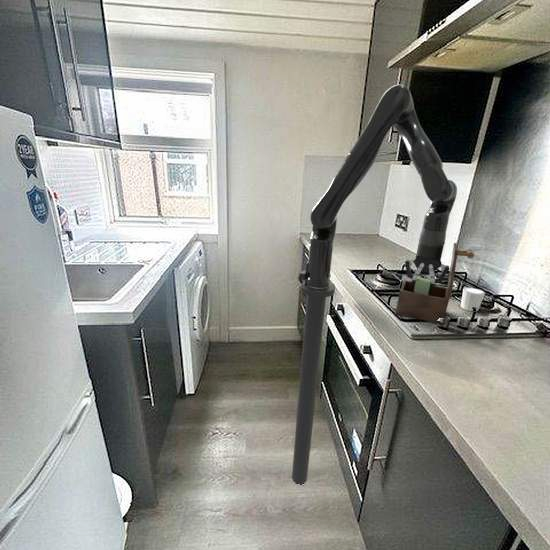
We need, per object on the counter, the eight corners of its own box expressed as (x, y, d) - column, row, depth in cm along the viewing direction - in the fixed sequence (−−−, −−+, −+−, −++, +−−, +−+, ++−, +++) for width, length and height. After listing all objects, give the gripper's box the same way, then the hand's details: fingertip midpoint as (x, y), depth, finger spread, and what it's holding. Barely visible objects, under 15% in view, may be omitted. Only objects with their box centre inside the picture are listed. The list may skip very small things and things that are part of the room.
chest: (395, 314, 104) (400, 290, 102) (400, 301, 115) (404, 280, 112) (442, 324, 98) (449, 300, 95) (443, 310, 109) (448, 288, 106)
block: (413, 292, 104) (416, 280, 102) (414, 288, 107) (417, 277, 106) (427, 295, 102) (430, 283, 100) (428, 291, 106) (430, 279, 104)
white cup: (473, 304, 115) (477, 287, 113) (484, 312, 109) (489, 294, 107) (455, 303, 116) (459, 286, 113) (465, 311, 109) (470, 293, 107)
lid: (454, 250, 91) (476, 251, 88) (453, 243, 102) (472, 244, 99) (447, 298, 95) (467, 301, 93) (447, 286, 106) (465, 288, 103)
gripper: (455, 244, 99) (444, 292, 105) (409, 238, 105) (400, 284, 111) (456, 248, 93) (444, 299, 98) (406, 242, 99) (398, 290, 105)
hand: (421, 291), depth 105 cm, fingers closed on block, 4 cm apart
